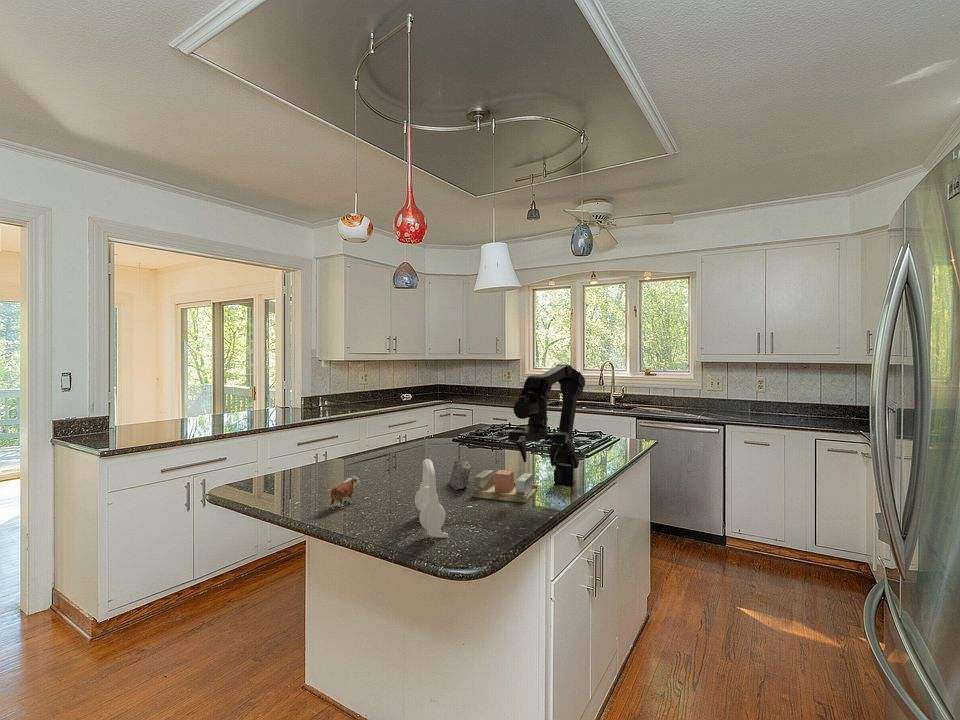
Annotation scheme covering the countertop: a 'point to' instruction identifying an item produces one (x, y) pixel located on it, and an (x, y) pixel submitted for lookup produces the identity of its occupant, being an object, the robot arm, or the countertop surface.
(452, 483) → the rock
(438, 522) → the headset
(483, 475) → the vise base
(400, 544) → the countertop surface
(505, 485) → the block
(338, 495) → the bull figurine
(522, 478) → the jaw
